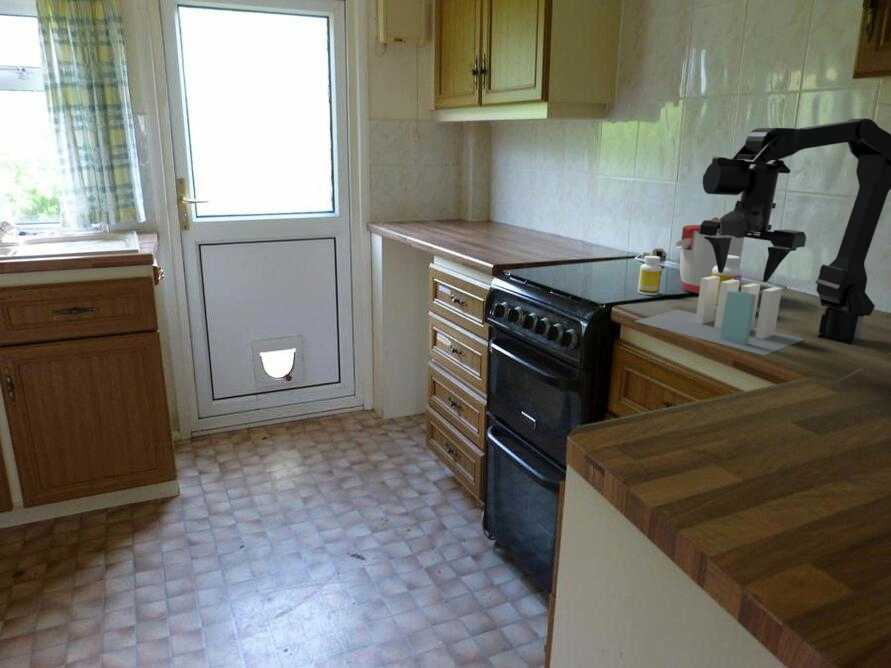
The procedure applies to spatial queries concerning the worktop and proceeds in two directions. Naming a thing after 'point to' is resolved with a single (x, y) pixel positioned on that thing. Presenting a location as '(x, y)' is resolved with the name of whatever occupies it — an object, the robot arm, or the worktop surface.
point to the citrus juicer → (700, 256)
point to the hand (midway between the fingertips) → (742, 277)
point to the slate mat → (716, 332)
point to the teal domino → (737, 317)
